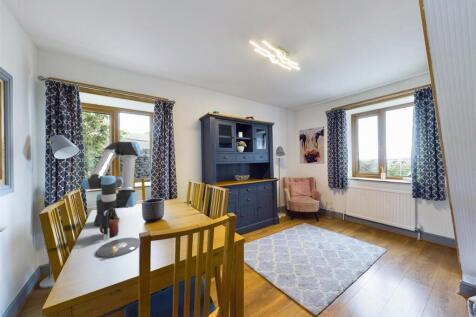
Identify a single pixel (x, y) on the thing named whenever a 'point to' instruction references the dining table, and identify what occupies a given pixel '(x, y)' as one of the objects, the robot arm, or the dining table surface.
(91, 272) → the dining table surface
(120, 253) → the seat disc
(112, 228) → the mug
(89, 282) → the dining table surface
